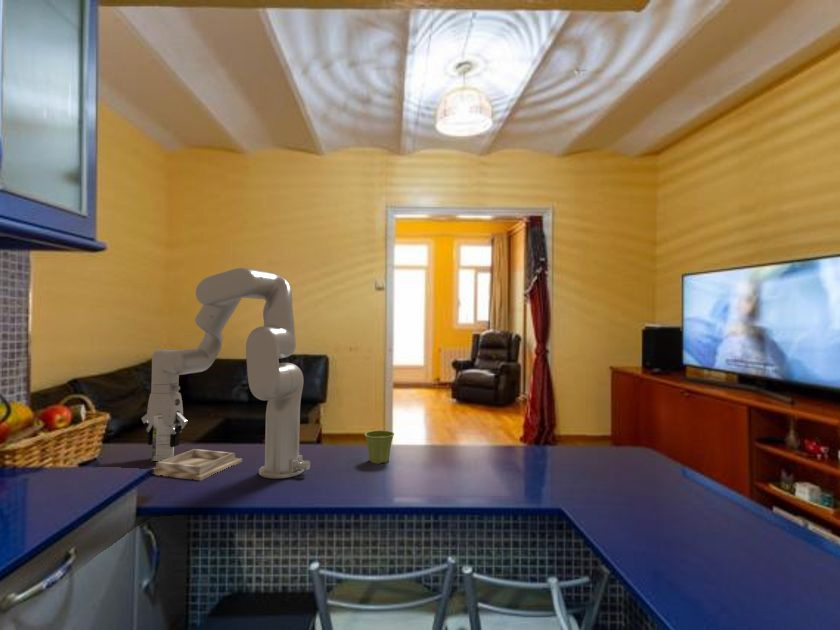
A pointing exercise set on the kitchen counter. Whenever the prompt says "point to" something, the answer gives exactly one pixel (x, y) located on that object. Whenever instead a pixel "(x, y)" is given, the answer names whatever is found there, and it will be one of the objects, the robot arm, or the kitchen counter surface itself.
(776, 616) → the kitchen counter surface
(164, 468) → the tray
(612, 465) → the kitchen counter surface
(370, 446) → the plant pot
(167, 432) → the syrup box
